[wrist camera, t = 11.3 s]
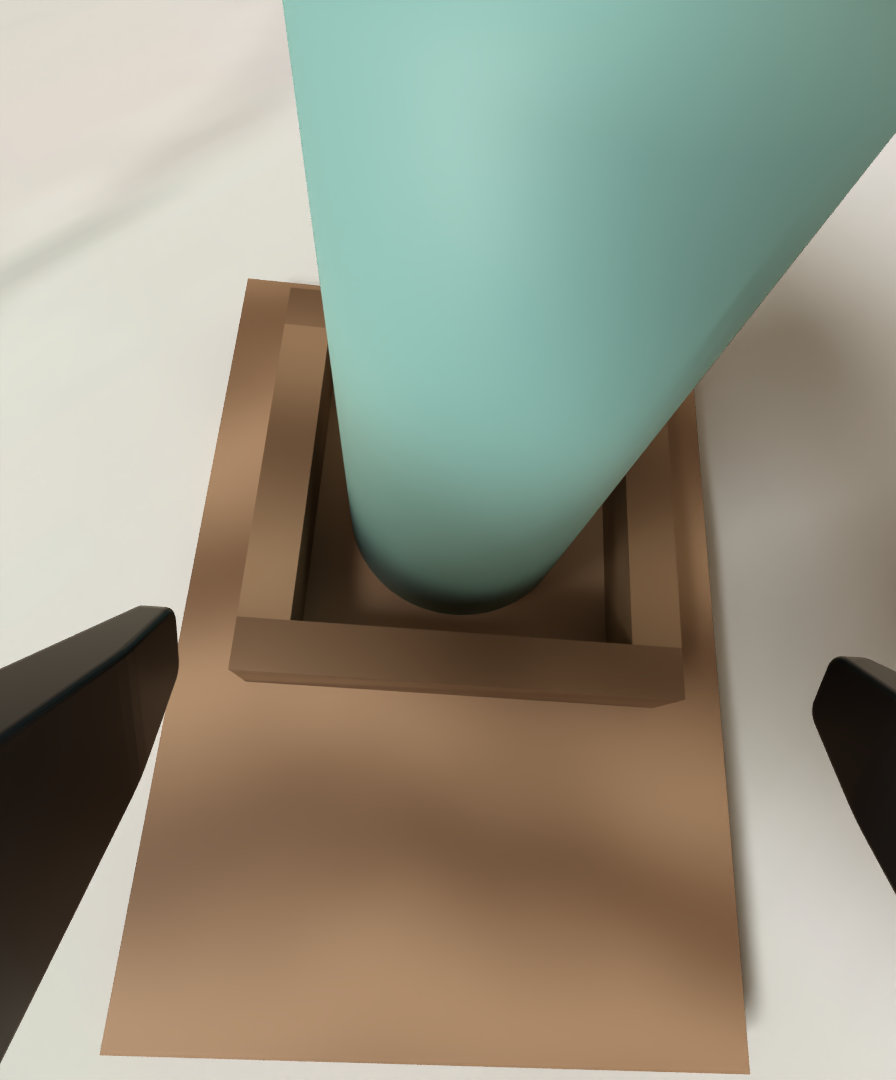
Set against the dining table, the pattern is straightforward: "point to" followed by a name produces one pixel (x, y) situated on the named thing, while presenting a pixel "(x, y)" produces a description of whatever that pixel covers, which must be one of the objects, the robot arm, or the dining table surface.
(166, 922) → the walnut base
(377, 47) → the teal post
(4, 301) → the dining table surface
